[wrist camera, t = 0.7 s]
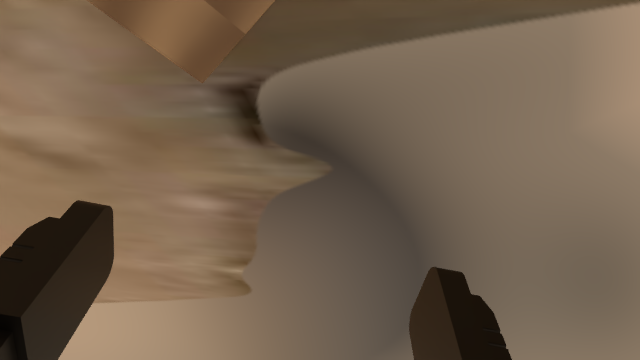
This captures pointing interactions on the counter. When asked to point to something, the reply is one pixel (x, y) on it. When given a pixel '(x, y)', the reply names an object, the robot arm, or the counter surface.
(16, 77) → the counter surface
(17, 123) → the counter surface
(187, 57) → the walnut block
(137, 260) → the counter surface
